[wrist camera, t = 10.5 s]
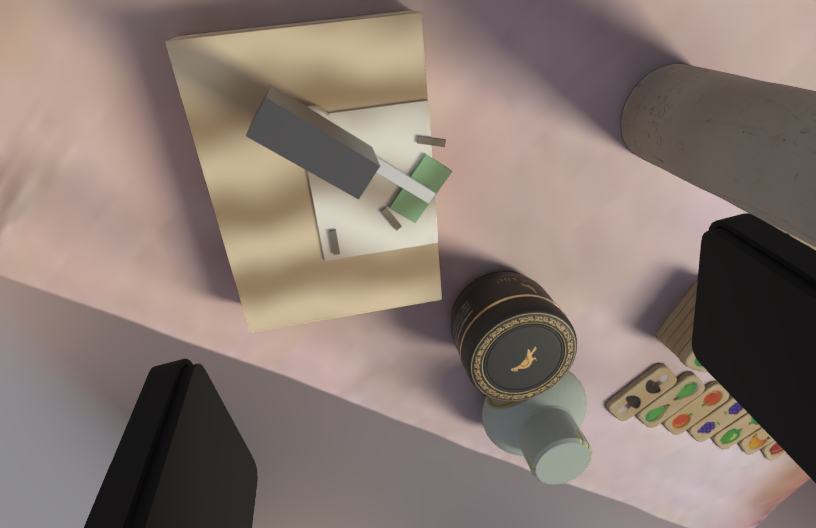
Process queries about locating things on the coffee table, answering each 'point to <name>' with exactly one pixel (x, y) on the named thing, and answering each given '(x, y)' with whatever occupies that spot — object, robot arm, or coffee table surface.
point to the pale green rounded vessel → (543, 430)
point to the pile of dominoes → (691, 394)
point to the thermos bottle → (731, 140)
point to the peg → (323, 146)
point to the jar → (511, 337)
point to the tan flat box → (305, 192)
